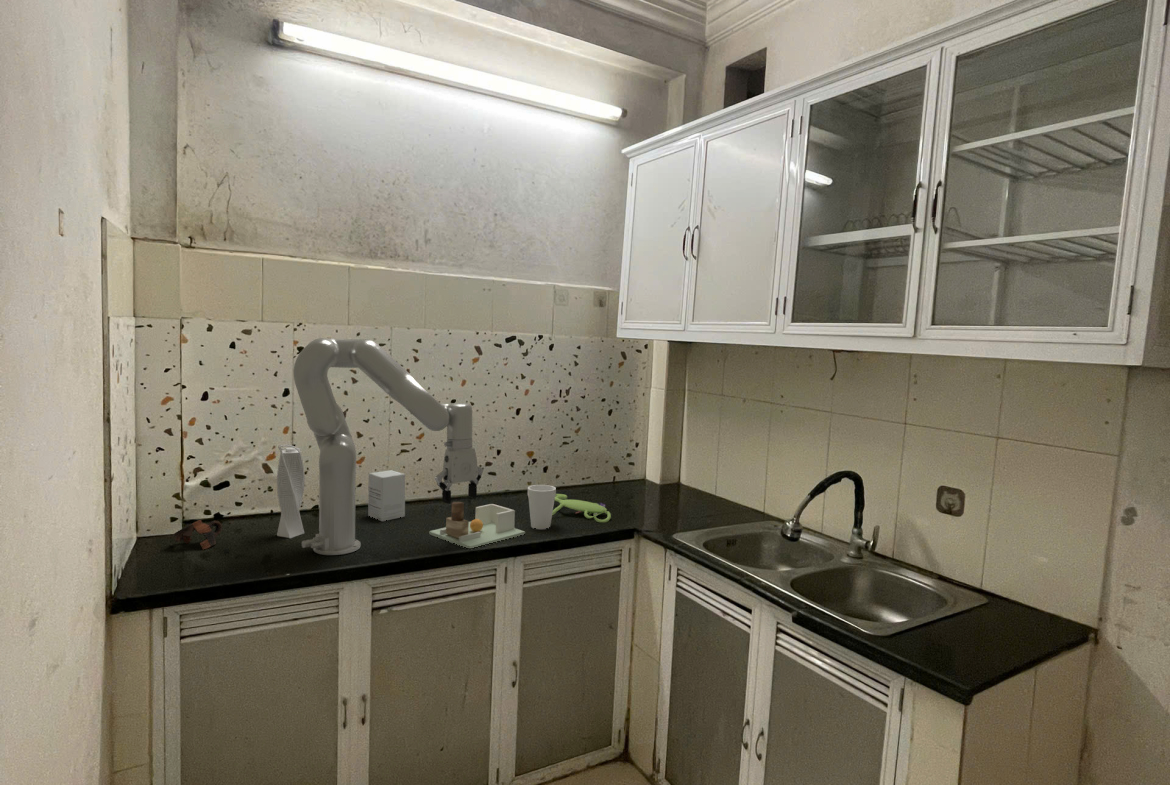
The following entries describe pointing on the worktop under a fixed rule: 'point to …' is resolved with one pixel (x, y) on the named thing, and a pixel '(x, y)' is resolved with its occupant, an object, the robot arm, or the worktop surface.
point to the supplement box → (386, 495)
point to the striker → (457, 521)
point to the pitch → (485, 527)
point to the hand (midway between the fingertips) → (459, 499)
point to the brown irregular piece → (202, 529)
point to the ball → (476, 525)
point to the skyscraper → (290, 491)
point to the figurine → (582, 507)
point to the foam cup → (541, 505)
